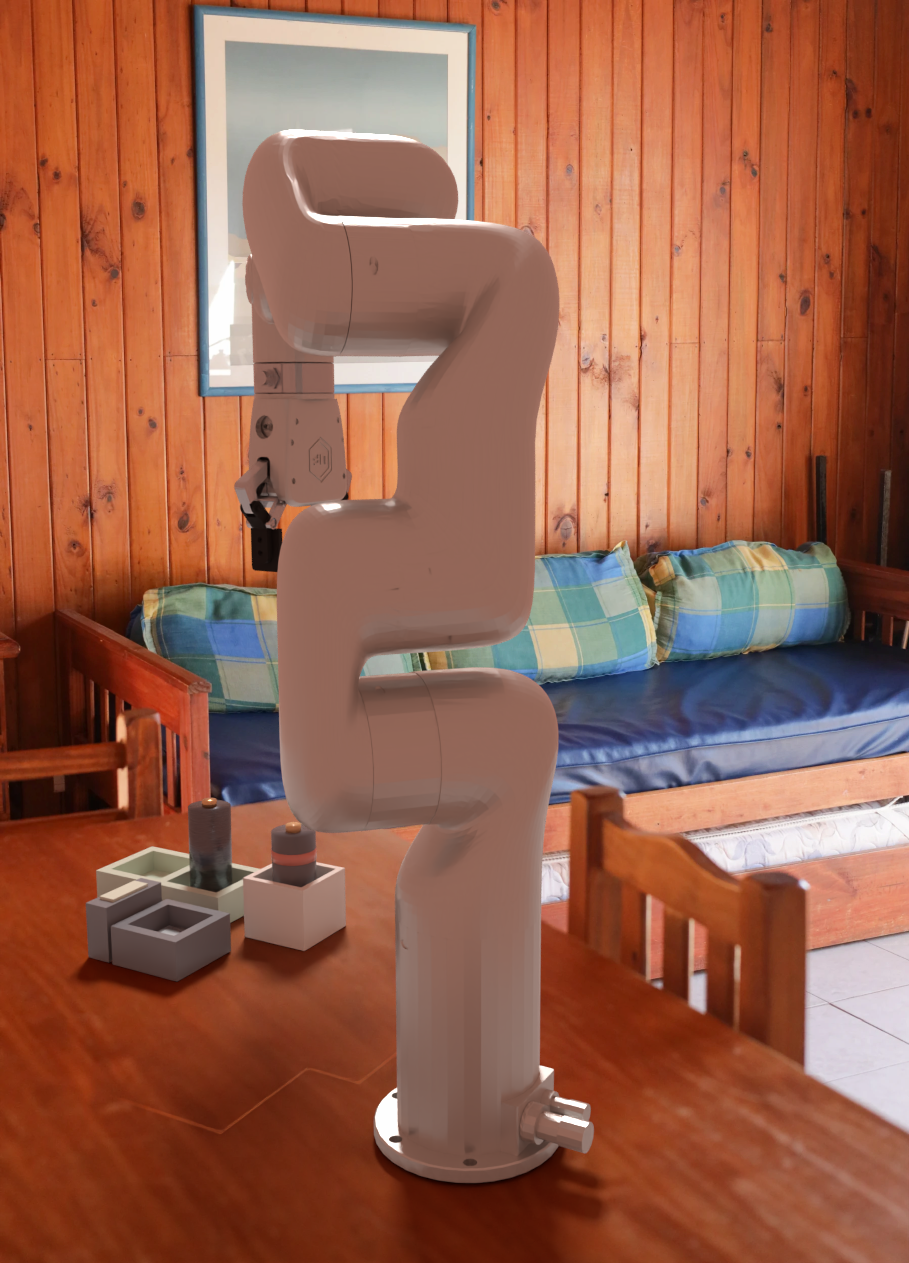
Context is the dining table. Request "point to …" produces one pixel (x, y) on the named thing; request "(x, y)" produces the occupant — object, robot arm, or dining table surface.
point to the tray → (174, 880)
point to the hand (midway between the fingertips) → (298, 564)
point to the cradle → (154, 931)
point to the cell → (210, 844)
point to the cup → (294, 893)
